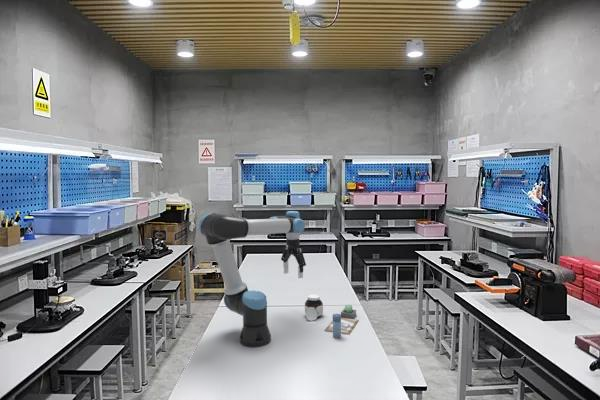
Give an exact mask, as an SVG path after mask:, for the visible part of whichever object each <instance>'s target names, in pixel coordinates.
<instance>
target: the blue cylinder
mask: <svg viewBox="0 0 600 400" xmlns="http://www.w3.org/2000/svg"><path fill="white" fill-rule="evenodd" d="M332 321H333V332H332V337H333V338H334V339H340V338H342V334H341V313H333V314H332Z"/></svg>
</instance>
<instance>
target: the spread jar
mask: <svg viewBox="0 0 600 400" xmlns="http://www.w3.org/2000/svg"><path fill="white" fill-rule="evenodd" d="M320 298H321V296H320V295H319V294H314V293H313V294H309V295H307V299H306V301H305V303H304V313H305V314H304V316H305V318H306V319H307V321H311V322H312V321H315V320H316V319H318V318H320V317H322V316H323V314H324V304H323V303H324V302H323V301H322V300H321V299H320Z"/></svg>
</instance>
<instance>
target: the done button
mask: <svg viewBox="0 0 600 400" xmlns="http://www.w3.org/2000/svg"><path fill="white" fill-rule="evenodd" d="M344 309H345V312H346V313H352V310H353V305H352V304H346V305H344Z"/></svg>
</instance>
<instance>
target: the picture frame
mask: <svg viewBox="0 0 600 400" xmlns="http://www.w3.org/2000/svg"><path fill="white" fill-rule="evenodd" d="M358 322H360V321H359V319H356V318H354V319H348V318H341V335H348V336H349V335H350V334H351V332H352V331H353V329H354V328H355V327H356V325H358ZM324 332H329V333H333V320H332V321H331V322H330V323H329V325H328V326H327V327H326V328H324Z"/></svg>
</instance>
